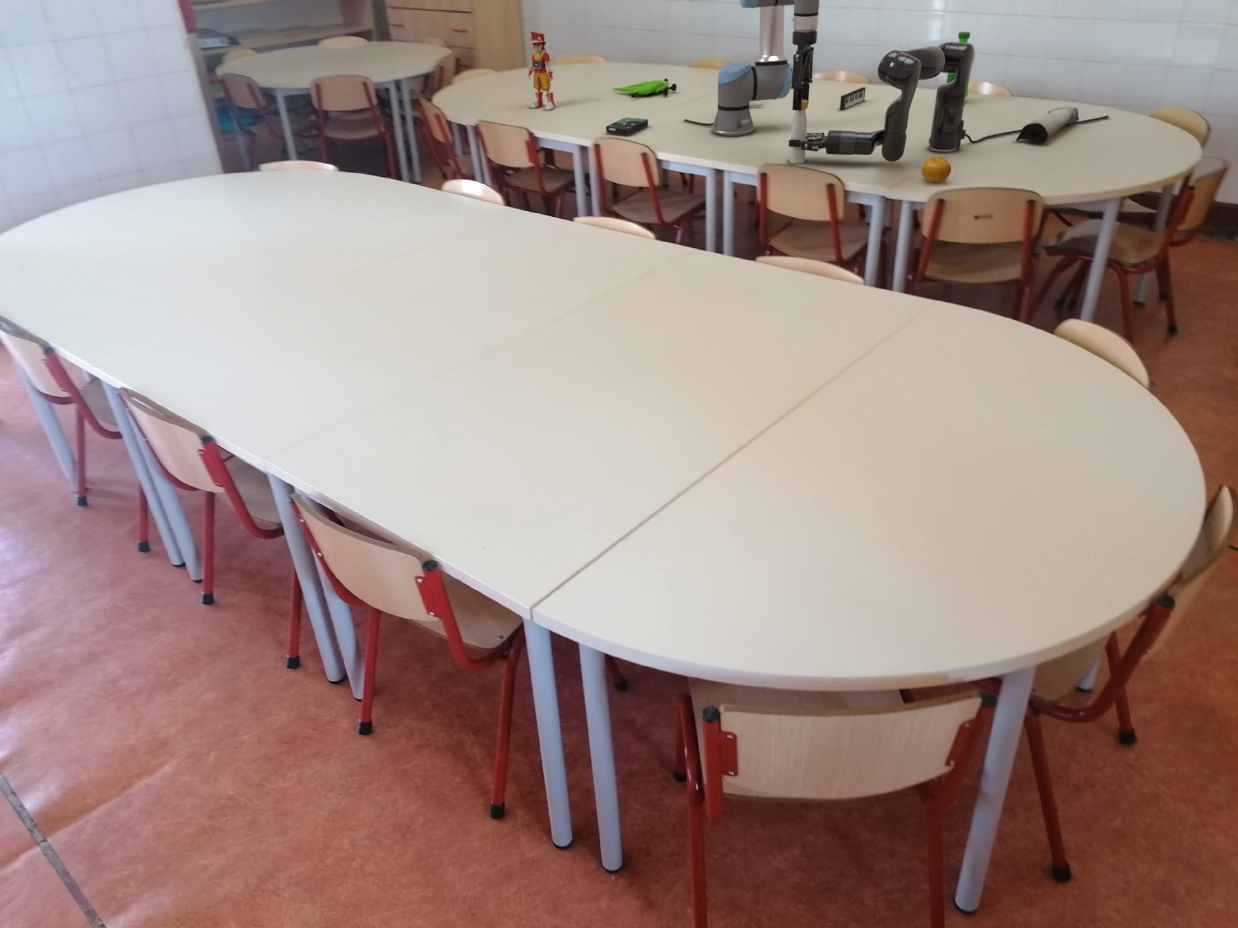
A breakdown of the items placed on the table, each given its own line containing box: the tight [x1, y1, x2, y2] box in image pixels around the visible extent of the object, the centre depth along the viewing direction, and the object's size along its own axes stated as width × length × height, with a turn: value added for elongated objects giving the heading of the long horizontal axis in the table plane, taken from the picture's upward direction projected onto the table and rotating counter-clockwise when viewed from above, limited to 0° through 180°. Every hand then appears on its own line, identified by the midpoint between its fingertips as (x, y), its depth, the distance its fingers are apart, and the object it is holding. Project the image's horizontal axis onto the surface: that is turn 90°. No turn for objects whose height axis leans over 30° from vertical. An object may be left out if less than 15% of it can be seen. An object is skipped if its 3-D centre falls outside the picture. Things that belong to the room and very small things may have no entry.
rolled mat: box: [1015, 106, 1080, 145], centre depth 311 cm, size 30×9×10 cm
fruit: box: [921, 156, 952, 183], centre depth 276 cm, size 8×8×8 cm
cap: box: [801, 100, 809, 111], centre depth 292 cm, size 4×4×2 cm
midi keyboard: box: [839, 86, 867, 111], centre depth 358 cm, size 18×1×5 cm, turn 138°
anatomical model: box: [749, 100, 763, 109], centre depth 366 cm, size 15×10×10 cm
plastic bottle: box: [946, 31, 976, 99], centre depth 348 cm, size 10×10×25 cm
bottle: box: [789, 109, 808, 164], centre depth 297 cm, size 5×5×19 cm
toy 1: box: [527, 31, 556, 111], centre depth 374 cm, size 12×9×30 cm
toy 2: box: [612, 78, 677, 99], centre depth 396 cm, size 28×5×30 cm
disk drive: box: [605, 116, 649, 136], centre depth 345 cm, size 10×3×15 cm
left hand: (800, 107), depth 292 cm, fingers open, 7 cm apart
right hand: (790, 141), depth 299 cm, fingers closed on bottle, 5 cm apart
